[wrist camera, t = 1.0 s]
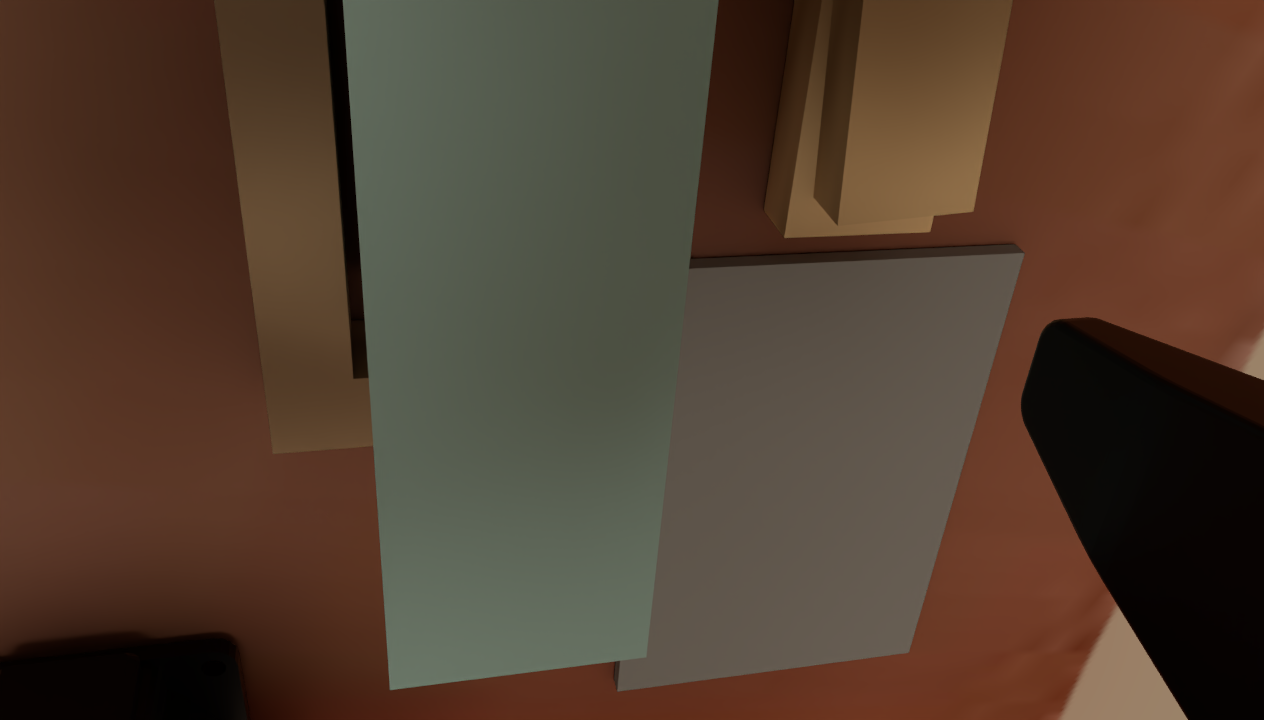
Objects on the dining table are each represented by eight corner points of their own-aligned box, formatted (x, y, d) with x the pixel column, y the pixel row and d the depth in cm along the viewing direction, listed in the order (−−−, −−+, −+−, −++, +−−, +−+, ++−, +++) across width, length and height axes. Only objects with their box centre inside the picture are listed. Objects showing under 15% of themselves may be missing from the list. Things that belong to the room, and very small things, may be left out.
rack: (609, 369, 23) (630, 425, 22) (276, 391, 22) (273, 454, 20) (674, -559, 15) (715, -580, 13) (151, -625, 14) (128, -657, 12)
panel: (524, 264, 21) (646, 656, 13) (364, 271, 21) (389, 689, 13) (536, -351, 16) (753, -320, 8) (321, -369, 15) (318, -352, 7)
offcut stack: (905, 205, 23) (960, 260, 21) (761, 211, 22) (804, 268, 20) (1004, -241, 18) (1085, -224, 16) (828, -253, 18) (891, -236, 16)
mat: (902, 641, 30) (908, 652, 30) (613, 679, 28) (617, 691, 28) (1015, 244, 24) (1024, 253, 23) (651, 260, 22) (656, 270, 22)
